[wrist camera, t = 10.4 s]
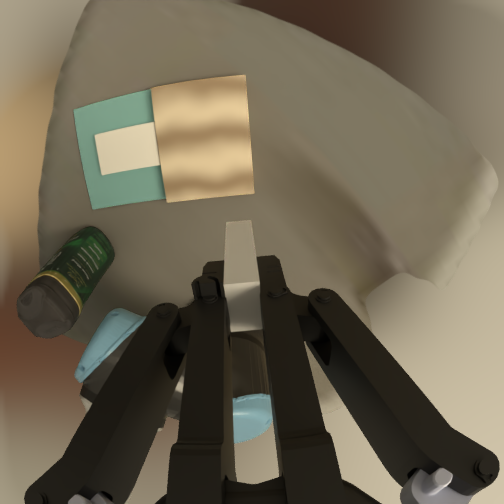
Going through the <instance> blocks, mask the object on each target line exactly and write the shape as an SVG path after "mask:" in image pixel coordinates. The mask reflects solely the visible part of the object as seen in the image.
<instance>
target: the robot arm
mask: <svg viewBox="0 0 504 504" xmlns="http://www.w3.org/2000/svg"><path fill="white" fill-rule="evenodd" d="M191 285H192V290H193V294H194V299H195V301H194V303H193V304H191V305H189V306H187V307H183V308H180V309H178V307H177V306H176V305H175V304H172V303H162V304H158V305H157V306H155V307H153V308H152V310H151V311H150V312H149V314H148V315H147V317H146V316H140V315H138V314H135V313H133V312H131V311H128V310H126V309H123V308H116V309H113V310H111V311H110V312H109V313H108V314H107V315H106V316H105V318H104V319H103V321H102V322H101V324H100V325H99V327H98V328H97V330H96V332H95V333H94V335H93V337H92V338H91V340H90V342H89V344H88V345H87V347H86V349H85V351H84V353H83V355H82V357H81V360H80V362H79V365H78V367H77V369H76V371H75V377H76V379H77V380H78V382H80V383H82V382H83V386H82V389H81V392H80V395H79V396H80V398H81V400H82V402H83V405H84V407H85V409H86V415H85V417H84V419H83V421H82V422H81V424H80V426H79V427H78V429H77V431H76V433H75V435H74V436H73V438H72V440H71V442H70V444H69V446H68V447H67V449H66V451H65V453H64V455H63V457H62V458H61V459H60V460H59V461H57V462H56V463H55V464H54V465H53V466H52V467H51V468H50V469H49V470H48V471H46V472H45V473H44V474H43V475H42V476H41V477H40V478H39V479H38V480H37V481H35V482H34V483H33V484H32V485H31V486H30V487H29V488H28V489H27V491H26V493H25V497H24V500H25V504H129V501H130V497H131V493H132V490H133V488H134V486H135V483H136V481H137V478H138V476H139V474H140V471H141V469H142V466H143V464H144V462H145V459H146V457H147V454H148V452H149V450H150V447H151V445H152V443H153V440H154V438H155V435H156V433H157V432H159V431H161V430H162V429H163V427H164V424H165V421H166V418H167V417H171V418H174V419H177V420H179V431H178V439H177V442H176V443H175V444H173V446H172V447H171V452H170V460H169V471H168V484H167V494H166V495H164V496H163V497H162V498H161V499H159V500H158V501H157V502H156V503H155V504H381V503H380V502H378V501H377V500H375V499H374V498H372V497H371V496H369V495H368V494H366V493H365V492H363V491H362V490H360V489H359V488H357V487H356V486H354V485H353V484H351V483H349V482H347V481H345V480H342V478H341V474H340V469H339V465H338V461H337V456H336V452H335V448H334V443H333V440H332V437H331V435H330V433H328V432H327V431H326V429H325V426H324V421H323V417H322V413H321V408H320V404H319V400H318V396H317V392H316V388H315V384H314V380H313V376H312V372H311V368H310V364H309V360H308V356H307V352H306V348H305V344H304V341H306V344H307V346H308V347H309V349H310V351H311V352H312V354H313V355H314V357H315V359H316V360H317V362H318V363H319V365H320V366H321V368H322V370H323V371H324V373H325V374H326V376H327V377H328V379H329V381H330V382H331V384H332V385H333V387H334V388H335V390H336V392H337V393H338V395H339V396H340V398H341V399H342V401H343V403H344V404H345V406H346V407H347V409H348V411H349V412H350V414H351V415H352V417H353V418H354V420H355V421H356V423H357V425H358V426H359V428H360V429H361V431H362V432H363V434H364V436H365V437H366V438H367V440H368V442H369V443H370V445H371V446H372V448H373V450H374V451H375V453H376V454H377V456H378V458H379V459H380V461H381V462H382V464H383V465H384V467H385V468H386V470H387V471H388V472H389V474H390V475H391V476H392V477H393V478H394V480H395V481H396V482H397V483H398V484H399V485H401V486H402V487H403V488H402V490H401V493H400V500H401V503H402V504H468V503H469V501H470V500H471V498H472V497H473V495H475V494H476V493H477V492H479V491H480V490H482V489H484V488H486V487H487V486H489V485H490V484H492V483H493V482H494V480H495V479H496V478H497V476H498V472H499V461H498V458H497V456H496V455H495V454H494V453H493V452H491V451H490V450H488V449H486V448H485V447H483V446H481V445H479V444H478V443H476V442H475V441H473V440H471V439H470V438H468V437H466V436H465V435H463V434H461V433H460V432H458V431H457V430H454V429H453V428H452V427H450V425H449V424H448V423H447V422H446V420H445V419H444V418H443V417H442V415H441V414H440V413H439V412H438V410H437V409H436V408H435V407H434V405H433V404H432V403H431V402H430V401H429V399H428V398H427V397H426V396H425V394H424V393H423V392H422V391H421V390H420V389H419V387H418V386H417V385H416V384H415V382H414V381H413V380H412V379H411V378H410V377H409V375H408V374H407V373H406V372H405V371H404V369H403V368H402V367H401V366H400V365H399V364H398V362H397V361H396V360H395V359H394V358H393V356H392V355H391V354H390V353H389V352H388V351H387V350H386V348H385V347H384V346H383V345H382V344H381V343H380V341H379V340H378V339H377V338H376V337H375V336H374V334H373V333H372V332H371V331H370V330H369V329H368V328H367V327H366V325H365V324H364V323H363V322H362V321H361V320H360V319H359V317H358V316H357V315H356V314H355V313H354V312H353V311H352V310H351V309H350V307H349V306H348V305H347V304H346V303H345V302H344V301H343V300H342V298H341V297H340V296H339V295H338V294H337V293H336V292H334V291H333V290H330V289H325V288H320V289H315V290H313V291H312V292H311V293H310V294H309V296H308V297H307V296H299V295H296V294H293V293H292V292H291V291H290V290H289V288H288V287H287V286H286V282H285V279H284V275H283V271H282V267H281V264H280V260H279V259H278V258H277V257H276V256H275V255H271V256H260V257H256V252H255V245H254V238H253V231H252V224H251V220H245V221H234V222H226V238H225V259H224V260H223V261H212V262H207V264H206V265H205V266H204V267H203V273H202V276H200V277H198V278H196V279H195V280H194V281H193V282H192V284H191ZM272 419H273V424H274V433H275V441H276V450H277V458H278V467H279V477H278V478H275V479H272V480H269V481H265V482H262V483H259V484H246V483H241V482H237V478H236V472H235V456H234V443H239V442H244V441H247V440H250V439H253V438H255V437H257V436H259V435H261V434H262V433H263V432H265V431H266V430H267V429H268V428H269V426H270V425H271V423H272Z"/></svg>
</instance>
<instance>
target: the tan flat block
mask: <svg viewBox="0 0 504 504" xmlns="http://www.w3.org/2000/svg"><path fill="white" fill-rule="evenodd" d="M151 94H152V103H153V112H154V120H155V128H156V136H157V143H158V150H159V157H160V163H161V170H162V176H163V182H164V188H165V194H166V199H167V203H169V202H177V201H185V200H194V199H203V198H212V197H222V196H233V195H244V194H254V182H253V168H252V155H251V142H250V128H249V115H248V102H247V90H246V77H245V75H238V76H227V77H217V78H208V79H200V80H193V81H186V82H180V83H174V84H168V85H163V86H157V87H152V88H151Z"/></svg>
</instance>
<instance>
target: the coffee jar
mask: <svg viewBox="0 0 504 504" xmlns="http://www.w3.org/2000/svg"><path fill="white" fill-rule="evenodd" d="M114 257H115V253H114V249H113V247H112V245H111V243H110V242H109V240H108V239H107V237H106V236H105V235H104V234H103V233H102V232H101V231H100V230H99V229H97V228H95V227H87V228H85V229H83V230H81V231H79V232H78V233H76V234H75V235H74V236H72V237H71V238H70V239H69V240H68V241H67V242H66V243H65V245H64V246H63V247H62V248H61V249H60V250H59V251H58V252H57V253H56V254H55V255H54V256H53V257H52V258H51V259H50V260H49V261H48V262H47V263H46V265H45V266H44V267H43V268H42V269H41V270H40V271H39V273H38V274H37V275H36V276H35V277H34V278H33V280H32V281H31V282H30V283H29V284H28V286H27V287H26V289H25V290H24V291H23V292H22V294H21V295H20V296H19V298H18V300H17V312H18V317H19V318H20V319H21V321H22V322H23V323H24V325H26V327H27V328H28V329H29V330H30V331H31V332H32V333H33V334H34V335H35V336H36V337H42V338H54V337H56V336H59V335H61V334H63V333H65V332H66V331H68V330H70V329H71V327H72V326H73V325H74V323H75V322H76V320H77V319H78V317H79V315H80V313H81V310H82V308H83V306H84V304H85V302H86V301H87V299H88V297H89V296H90V294H91V293H92V291H93V289H94V288H95V287H96V285H97V283H98V282H99V280H100V279H101V278H102V276H103V275H104V273H105V272H106V271H107V269H108V268H109V266H110V265H111V263H112V262H113V260H114Z"/></svg>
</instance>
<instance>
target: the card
mask: <svg viewBox="0 0 504 504" xmlns="http://www.w3.org/2000/svg"><path fill="white" fill-rule="evenodd" d="M95 141H96V147H97V153H98V158H99V164H100V169H101V174H102V175H106V174H111V173H116V172H122V171H127V170H133V169H139V168H145V167H151V166H157V165H161V163H160V157H159V150H158V143H157V136H156V128H155V122H150V123H144V124H139V125H134V126H130V127H125V128H120V129H116V130H112V131H108V132H104V133H100V134H96V135H95Z"/></svg>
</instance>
